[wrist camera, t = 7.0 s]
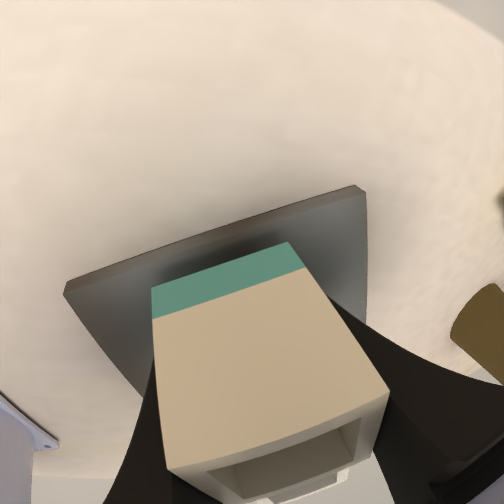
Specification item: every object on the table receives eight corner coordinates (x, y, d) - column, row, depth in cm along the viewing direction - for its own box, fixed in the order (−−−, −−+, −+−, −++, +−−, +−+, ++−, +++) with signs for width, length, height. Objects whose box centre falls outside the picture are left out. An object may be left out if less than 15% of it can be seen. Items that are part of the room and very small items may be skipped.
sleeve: (197, 370, 13) (230, 507, 8) (151, 288, 10) (167, 469, 5) (303, 333, 13) (369, 457, 8) (287, 241, 10) (390, 391, 6)
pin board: (183, 430, 18) (194, 488, 15) (66, 282, 11) (44, 366, 8) (356, 369, 20) (386, 419, 16) (355, 185, 12) (425, 236, 9)
